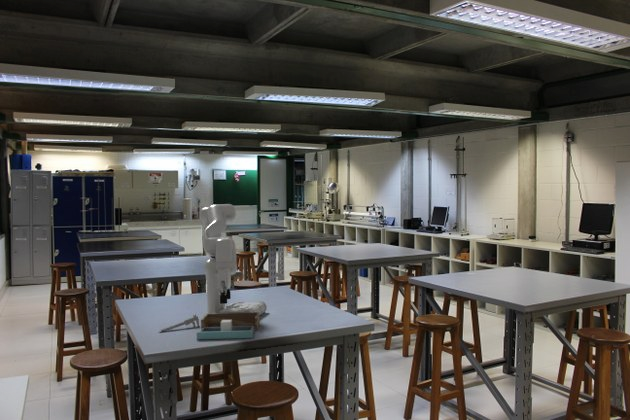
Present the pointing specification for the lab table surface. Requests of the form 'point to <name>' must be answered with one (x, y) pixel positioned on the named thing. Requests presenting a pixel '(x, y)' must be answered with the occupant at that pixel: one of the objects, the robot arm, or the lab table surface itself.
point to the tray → (226, 332)
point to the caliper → (183, 323)
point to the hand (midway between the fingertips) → (225, 301)
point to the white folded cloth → (245, 307)
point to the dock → (235, 317)
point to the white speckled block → (226, 325)
